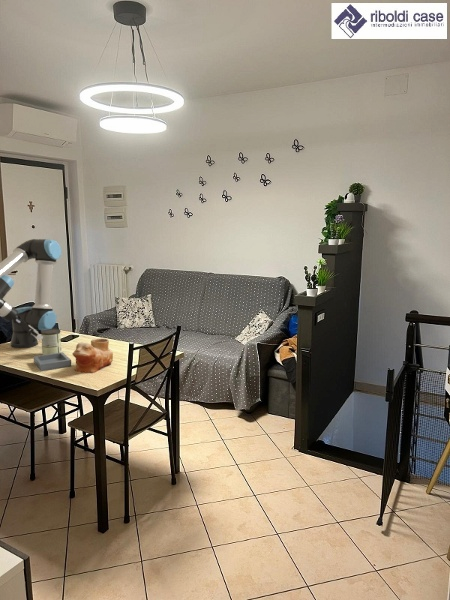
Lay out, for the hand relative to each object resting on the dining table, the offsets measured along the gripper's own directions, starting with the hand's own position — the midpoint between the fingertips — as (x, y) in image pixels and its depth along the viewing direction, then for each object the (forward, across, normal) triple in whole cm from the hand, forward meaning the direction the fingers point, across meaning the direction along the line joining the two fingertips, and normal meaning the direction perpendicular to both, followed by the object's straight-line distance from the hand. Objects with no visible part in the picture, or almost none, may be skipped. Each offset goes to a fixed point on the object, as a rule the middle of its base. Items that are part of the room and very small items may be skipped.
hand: (39, 336), depth 244 cm
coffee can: (+13, -1, -4) cm, 14 cm away
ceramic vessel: (+22, +33, +5) cm, 40 cm away
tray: (+10, +17, -6) cm, 21 cm away
